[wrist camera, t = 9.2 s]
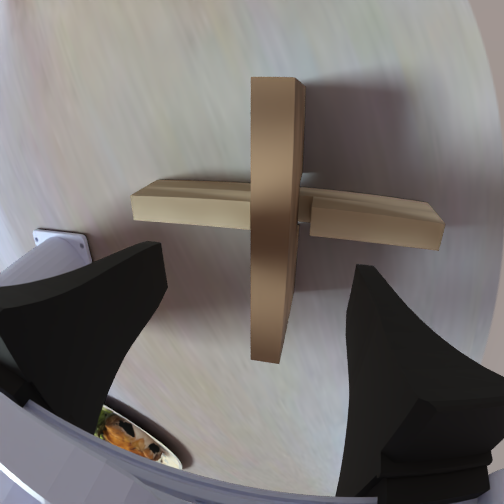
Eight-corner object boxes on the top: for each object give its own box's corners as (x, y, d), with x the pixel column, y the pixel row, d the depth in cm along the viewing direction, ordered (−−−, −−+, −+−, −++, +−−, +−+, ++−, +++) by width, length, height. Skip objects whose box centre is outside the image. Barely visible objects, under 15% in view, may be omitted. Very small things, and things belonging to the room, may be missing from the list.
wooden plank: (293, 292, 22) (279, 363, 16) (271, 289, 23) (250, 359, 17) (305, 86, 16) (294, 77, 10) (277, 85, 16) (250, 77, 10)
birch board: (422, 225, 18) (438, 250, 15) (159, 201, 21) (133, 220, 18) (427, 202, 17) (445, 224, 14) (157, 179, 20) (130, 195, 17)
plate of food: (33, 356, 41) (15, 379, 36) (170, 417, 36) (153, 453, 31) (87, 431, 55) (76, 450, 50) (195, 475, 50) (186, 498, 45)
